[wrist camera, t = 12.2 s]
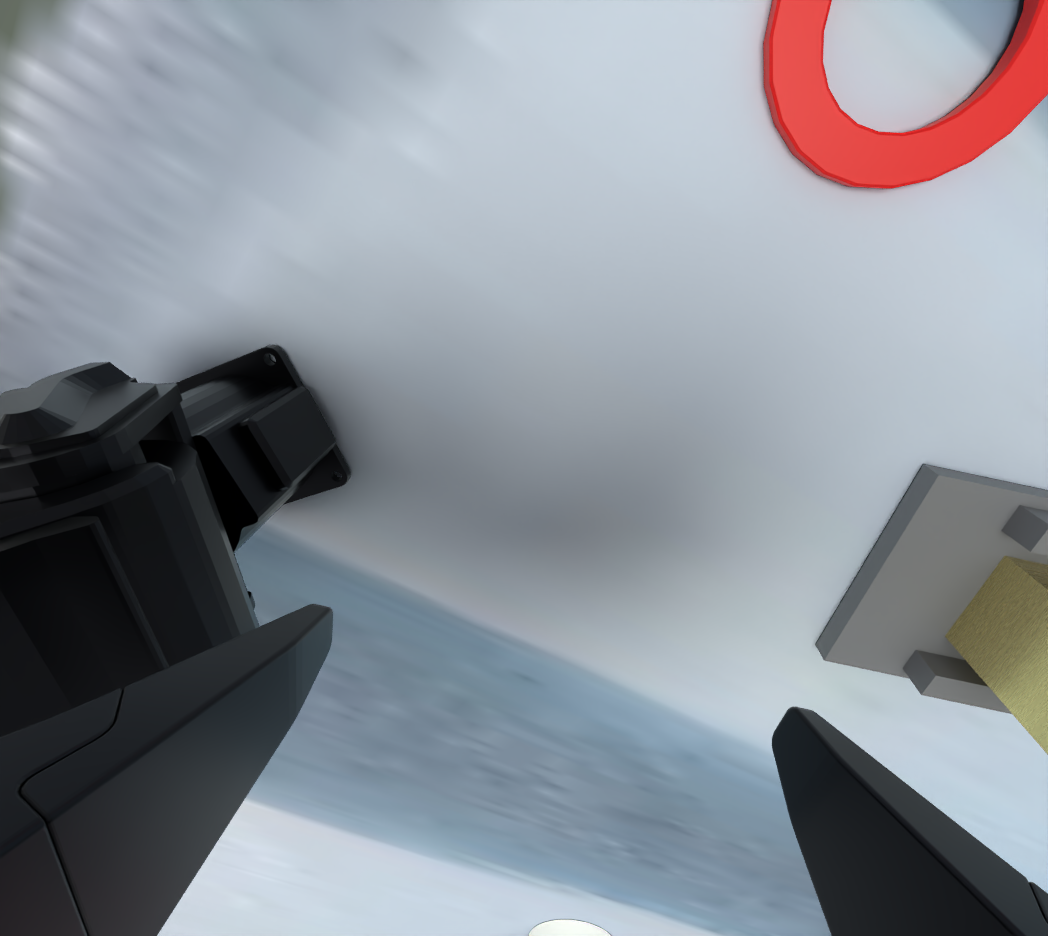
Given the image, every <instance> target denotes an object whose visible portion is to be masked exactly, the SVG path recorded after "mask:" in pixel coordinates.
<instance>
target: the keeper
mask: <svg viewBox="0 0 1048 936" xmlns="http://www.w3.org/2000/svg"><path fill="white" fill-rule="evenodd" d="M1004 556H1009V557H1014V558H1019V559H1023V560H1028V561H1033V562H1037V563H1042V564H1047V565H1048V490H1043V489H1038V488H1034V487H1029V486H1024V485H1020V484H1015V483H1010V482H1005V481H1001V480H996V479H991V478H987V477H982V476H977V475H973V474H968V473H963V472H958V471H954V470H949V469H944V468H940V467H935V466H930V465H926V464H923V466H922V467H921V469H920V471H919V472H918V474H917V476H916V477H915V479H914V481H913V482H912V484H911V486H910V487H909V489H908V491H907V492H906V494H905V496H904V497H903V499H902V501H901V502H900V504H899V506H898V507H897V509H896V511H895V512H894V514H893V516H892V517H891V519H890V521H889V523H888V524H887V526H886V528H885V529H884V531H883V533H882V534H881V536H880V538H879V539H878V541H877V543H876V544H875V546H874V548H873V549H872V551H871V553H870V554H869V556H868V558H867V559H866V561H865V563H864V564H863V566H862V568H861V569H860V571H859V573H858V574H857V576H856V578H855V579H854V581H853V583H852V585H851V586H850V588H849V590H848V591H847V593H846V595H845V596H844V598H843V600H842V601H841V603H840V605H839V606H838V608H837V610H836V611H835V613H834V615H833V616H832V618H831V620H830V621H829V623H828V625H827V626H826V628H825V630H824V631H823V633H822V635H821V636H820V638H819V640H818V641H817V643H816V646H817V648H818V650H819V652H820V654H821V656H822V657H823V659H824V660H825V661H829V662H834V663H839V664H843V665H848V666H853V667H858V668H862V669H867V670H872V671H876V672H881V673H886V674H891V675H895V676H900V677H905V678H910V680H911V681H912V682H913V684H914V685H915V687H916V688H917V689H918V691H919V692H920V694H921V695H925V696H929V697H934V698H939V699H944V700H948V701H953V702H958V703H963V704H967V705H972V706H977V707H981V708H986V709H991V710H996V711H1000V712H1005V713H1010V714H1012V713H1011V712H1010V711H1009V709H1008V708H1007V707H1006V706H1005V705H1004V704H1003V703H1002V701H1001V700H1000V699H999V698H998V697H997V696H996V695H995V693H994V692H993V691H992V690H991V689H990V688H989V687H988V685H987V684H986V683H985V682H984V681H983V680H982V678H981V677H980V676H979V675H978V674H977V673H976V672H975V670H974V669H973V668H972V667H971V666H970V665H969V664H968V662H967V661H966V660H965V659H964V658H963V657H962V656H961V654H960V653H959V652H958V651H957V650H956V649H955V648H954V646H953V645H952V644H951V643H950V642H949V641H948V639H947V638H946V637H945V635H946V634H947V633H948V631H949V630H950V629H951V627H952V626H953V624H954V623H955V622H956V620H957V619H958V618H959V616H960V615H961V614H962V612H963V611H964V610H965V608H966V607H967V606H968V604H969V603H970V602H971V600H972V599H973V598H974V596H975V595H976V594H977V592H978V591H979V590H980V588H981V587H982V585H983V584H984V583H985V581H986V580H987V579H988V577H989V576H990V575H991V573H992V572H993V571H994V569H995V568H996V567H997V565H998V564H999V563H1000V561H1001V560H1002V559H1003V557H1004Z"/></svg>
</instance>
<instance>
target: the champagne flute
mask: <svg viewBox="0 0 1048 936" xmlns="http://www.w3.org/2000/svg"><path fill="white" fill-rule="evenodd" d="M529 936H611V935H610V934H609V933H608V932H606V931H605V930H603V929H602V928H600V927H598V926H595V925H593V924H590V923H587V922H582V921H577V920H553V921H548V922H544V923H542V924H539V925H537V926H536V927H534V928H533V929H532V930H531V931H530V933H529Z"/></svg>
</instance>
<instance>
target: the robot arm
mask: <svg viewBox="0 0 1048 936" xmlns="http://www.w3.org/2000/svg"><path fill="white" fill-rule="evenodd" d="M269 353H270V354H272V355H273V356H274V357H275V359H276V363H273V362H272V361H271V360H270V359H269ZM334 471H337V472H339V473H340V474H341V475H342V477H338V476H337V475H336V474H335V472H334ZM350 477H351V472H350V469H349V467H348V465H347V464H346V462H345V460H344V458H343V456H342V455H341V453H340V451H339V449H338V447H337V446H336V444H335V438H334V436H333V434H332V432H331V431H330V429H329V427H328V425H327V423H326V422H325V420H324V418H323V416H322V414H321V413H320V411H319V409H318V407H317V405H316V404H315V402H314V400H313V398H312V396H311V395H310V393H309V391H308V390H307V389H305V388H304V386H303V385H302V383H301V381H300V379H299V377H298V376H297V374H296V372H295V370H294V368H293V367H292V365H291V363H290V361H289V359H288V358H287V356H286V354H285V352H284V351H283V350H282V349H281V348H280V347H278V346H275V345H269V346H266V347H264V348H261V349H259V350H256V351H254V352H251V353H249V354H246V355H244V356H241V357H239V358H236V359H234V360H232V361H229V362H227V363H224V364H222V365H219V366H217V367H214V368H212V369H209V370H207V371H204V372H202V373H199V374H197V375H195V376H192V377H190V378H187V379H185V380H182V381H180V382H177V383H164V384H152V383H137V380H136V378H130V377H129V376H128V375H126V374H125V373H124V372H122V371H121V370H119V369H118V368H117V367H115V366H114V365H113V364H111V363H110V362H102V363H89V364H86V365H83V366H79V367H76V368H73V369H70V370H66V371H63V372H60V373H57V374H54V375H51V376H48V377H46V378H43V379H41V380H39V381H37V382H35V383H33V384H32V385H31V386H30V387H29V388H20V389H14V390H10V391H6V392H4V393H2V394H1V396H0V936H157V935H158V933H159V932H160V930H161V929H162V927H163V925H164V924H165V922H166V921H167V919H168V918H169V916H170V915H171V913H172V911H173V910H174V908H175V907H176V905H177V904H178V902H179V901H180V899H181V897H182V896H183V894H184V893H185V891H186V890H187V888H188V886H189V885H190V883H191V882H192V880H193V879H194V877H195V876H196V874H197V872H198V871H199V869H200V868H201V866H202V865H203V863H204V862H205V860H206V858H207V857H208V855H209V854H210V852H211V851H212V849H213V848H214V846H215V844H216V843H217V841H218V840H219V838H220V837H221V835H222V833H223V832H224V830H225V829H226V827H227V826H228V824H229V823H230V821H231V819H232V818H233V816H234V815H235V813H236V812H237V810H238V809H239V807H240V805H241V804H242V802H243V801H244V799H245V798H246V796H247V795H248V793H249V791H250V790H251V788H252V787H253V785H254V784H255V782H256V780H257V779H258V777H259V776H260V774H261V773H262V771H263V770H264V768H265V766H266V765H267V763H268V762H269V760H270V759H271V757H272V756H273V754H274V752H275V751H276V749H277V748H278V746H279V745H280V743H281V741H282V740H283V738H284V737H285V735H286V734H287V732H288V731H289V729H290V727H291V726H292V724H293V722H294V721H295V719H296V717H297V715H298V713H299V711H300V710H301V708H302V706H303V704H304V702H305V699H306V697H307V695H308V693H309V691H310V689H311V687H312V685H313V683H314V681H315V679H316V677H317V675H318V673H319V671H320V669H321V667H322V665H323V663H324V661H325V659H326V656H327V654H328V652H329V649H330V646H331V642H332V628H333V611H332V609H331V608H330V607H326V606H322V605H317V604H311V605H308V606H305V607H303V608H301V609H299V610H296V611H294V612H292V613H290V614H287V615H285V616H283V617H280V618H278V619H276V620H274V621H271V622H269V623H267V624H265V625H262V626H260V627H259V623H258V620H257V618H256V615H255V612H254V608H255V602H254V599H253V596H252V594H251V592H249V591H247V588H246V586H245V583H244V580H243V577H242V575H241V572H240V569H239V566H238V563H237V561H236V558H235V555H234V553H235V552H236V551H237V550H238V549H239V548H240V547H241V546H242V545H243V544H244V543H245V542H246V541H247V540H248V539H249V538H250V537H251V536H252V535H253V534H254V533H255V532H256V531H257V530H258V529H259V528H260V527H261V526H262V525H263V524H264V523H265V522H266V521H267V520H268V519H269V518H270V517H271V516H272V515H273V514H274V513H275V512H276V511H277V510H278V509H279V508H280V507H281V506H282V505H283V504H286V503H289V502H293V501H296V500H299V499H302V498H305V497H308V496H311V495H315V494H318V493H321V492H324V491H327V490H330V489H333V488H337V487H340V486H342V485H344V484H345V483H346V482H347V481H348V480H349V478H350ZM772 749H773V753H774V757H775V761H776V765H777V769H778V773H779V777H780V781H781V785H782V789H783V793H784V797H785V801H786V805H787V809H788V812H789V816H790V819H791V823H792V826H793V829H794V832H795V835H796V838H797V841H798V844H799V846H800V849H801V852H802V855H803V857H804V860H805V863H806V866H807V869H808V871H809V874H810V877H811V880H812V882H813V885H814V888H815V891H816V894H817V896H818V899H819V902H820V905H821V908H822V910H823V913H824V916H825V919H826V921H827V924H828V927H829V930H830V933H831V935H832V936H1048V894H1047V893H1046V892H1045V891H1044V890H1042V889H1041V888H1040V887H1038V886H1037V885H1036V884H1034V883H1033V882H1028V880H1027V879H1026V877H1024V876H1023V875H1022V874H1021V873H1019V872H1018V871H1017V870H1016V869H1014V868H1013V867H1012V866H1010V865H1009V864H1008V863H1007V862H1005V861H1004V860H1003V859H1001V858H1000V857H999V856H998V855H996V854H995V853H994V852H993V851H991V850H990V849H989V848H987V847H986V846H985V845H984V844H982V843H981V842H980V841H979V840H977V839H976V838H975V837H973V836H972V835H971V834H970V833H968V832H967V831H966V830H965V829H963V828H962V827H961V826H959V825H958V824H957V823H956V822H954V821H953V820H952V819H951V818H949V817H948V816H947V815H945V814H944V813H943V812H942V811H940V810H939V809H938V808H937V807H935V806H934V805H933V804H931V803H930V802H929V801H928V800H926V799H925V798H924V797H923V796H921V795H920V794H919V793H917V792H916V791H915V790H914V789H912V788H911V787H910V786H909V785H907V784H906V783H905V782H903V781H902V780H901V779H900V778H898V777H897V776H896V775H894V774H893V773H892V772H891V771H889V770H888V769H887V768H886V767H884V766H883V765H882V764H880V763H879V762H878V761H877V760H875V759H874V758H873V757H872V756H870V755H869V754H868V753H866V752H865V751H864V750H863V749H861V748H860V747H859V746H858V745H856V744H855V743H854V742H852V741H851V740H850V739H849V738H847V737H846V736H845V735H844V734H842V733H841V732H840V731H838V730H837V729H836V728H835V727H833V726H832V725H831V724H830V723H828V722H827V721H826V720H824V719H823V718H822V717H821V716H819V715H818V714H817V713H815V712H814V711H812V710H809V709H804V708H799V707H791V708H789V709H788V710H787V712H786V713H785V715H784V717H783V718H782V720H781V721H780V723H779V725H778V726H777V728H776V730H775V731H774V733H773V737H772Z"/></svg>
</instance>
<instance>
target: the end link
mask: <svg viewBox="0 0 1048 936" xmlns="http://www.w3.org/2000/svg"><path fill="white" fill-rule="evenodd" d="M945 637H946V638H947V639H948V641H949V642H950V643H951V644H952V645H953V646H954V648H955V649H956V650H957V651H958V652H959V653H960V654H961V656H962V657H963V658H964V659H965V660H966V661H967V662H968V664H969V665H970V666H971V667H972V668H973V669H974V670H975V672H976V673H977V674H978V675H979V676H980V677H981V678H982V680H983V681H984V682H985V683H986V684H987V685H988V687H989V688H990V689H991V690H992V691H993V692H994V693H995V695H996V696H997V697H998V698H999V699H1000V700H1001V701H1002V703H1003V704H1004V705H1005V706H1006V707H1007V708H1008V709H1009V711H1010V712H1011V713H1012V714H1013V715H1014V716H1015V717H1016V719H1017V720H1018V721H1019V722H1020V723H1021V724H1022V726H1023V727H1024V728H1025V729H1026V730H1027V731H1028V732H1029V734H1030V735H1031V736H1032V737H1033V738H1034V739H1035V740H1036V742H1037V743H1038V744H1039V745H1040V746H1041V747H1042V748H1043V750H1044V751H1045V752H1046V753H1047V754H1048V565H1047V564H1042V563H1037V562H1033V561H1028V560H1023V559H1019V558H1014V557H1009V556H1004V557H1003V559H1002V560H1001V561H1000V563H999V564H998V565H997V567H996V568H995V569H994V571H993V572H992V573H991V575H990V576H989V577H988V579H987V580H986V581H985V583H984V584H983V585H982V587H981V588H980V590H979V591H978V592H977V594H976V595H975V596H974V598H973V599H972V600H971V602H970V603H969V604H968V606H967V607H966V608H965V610H964V611H963V612H962V614H961V615H960V616H959V618H958V619H957V620H956V622H955V623H954V624H953V626H952V627H951V629H950V630H949V631H948V633H947V634H946V635H945Z"/></svg>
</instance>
